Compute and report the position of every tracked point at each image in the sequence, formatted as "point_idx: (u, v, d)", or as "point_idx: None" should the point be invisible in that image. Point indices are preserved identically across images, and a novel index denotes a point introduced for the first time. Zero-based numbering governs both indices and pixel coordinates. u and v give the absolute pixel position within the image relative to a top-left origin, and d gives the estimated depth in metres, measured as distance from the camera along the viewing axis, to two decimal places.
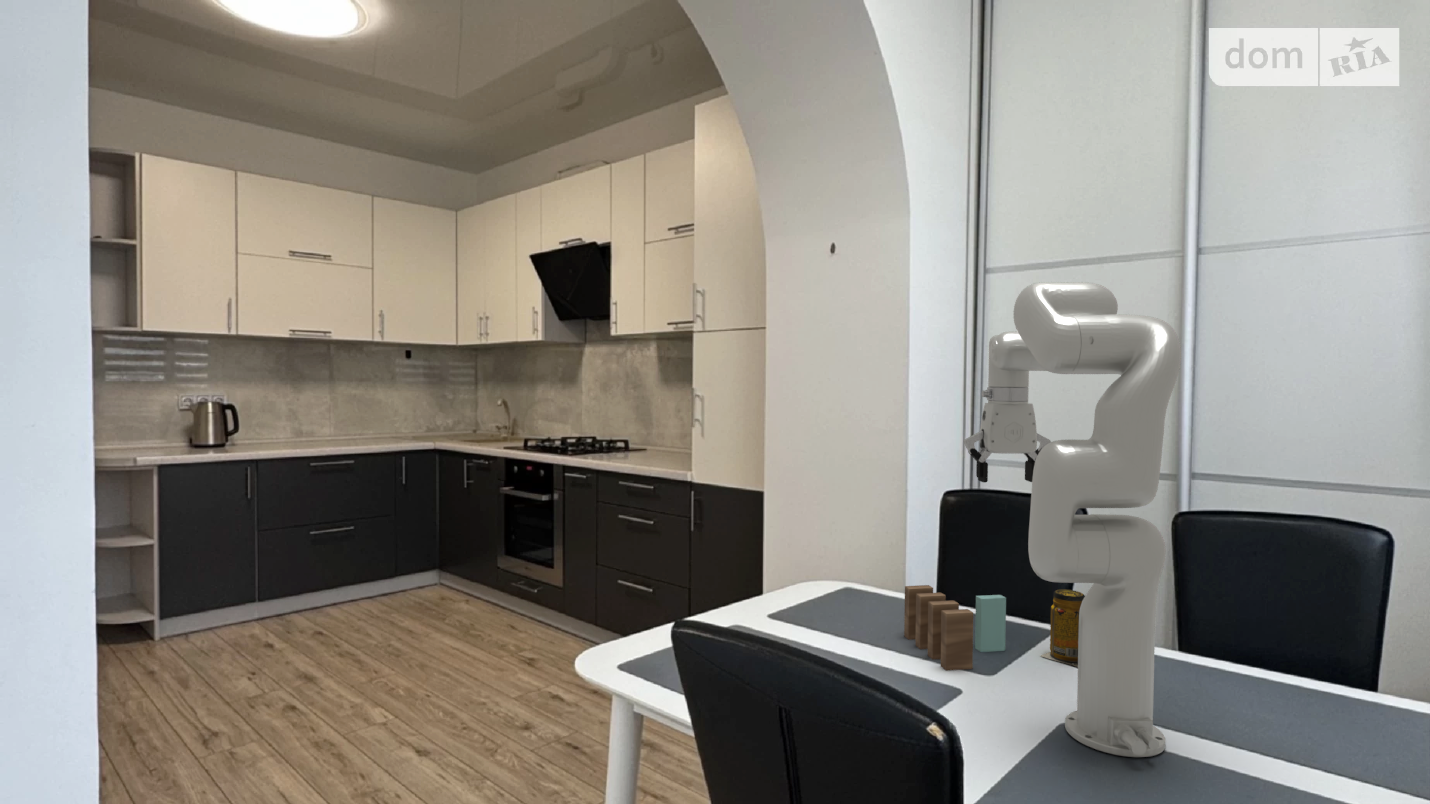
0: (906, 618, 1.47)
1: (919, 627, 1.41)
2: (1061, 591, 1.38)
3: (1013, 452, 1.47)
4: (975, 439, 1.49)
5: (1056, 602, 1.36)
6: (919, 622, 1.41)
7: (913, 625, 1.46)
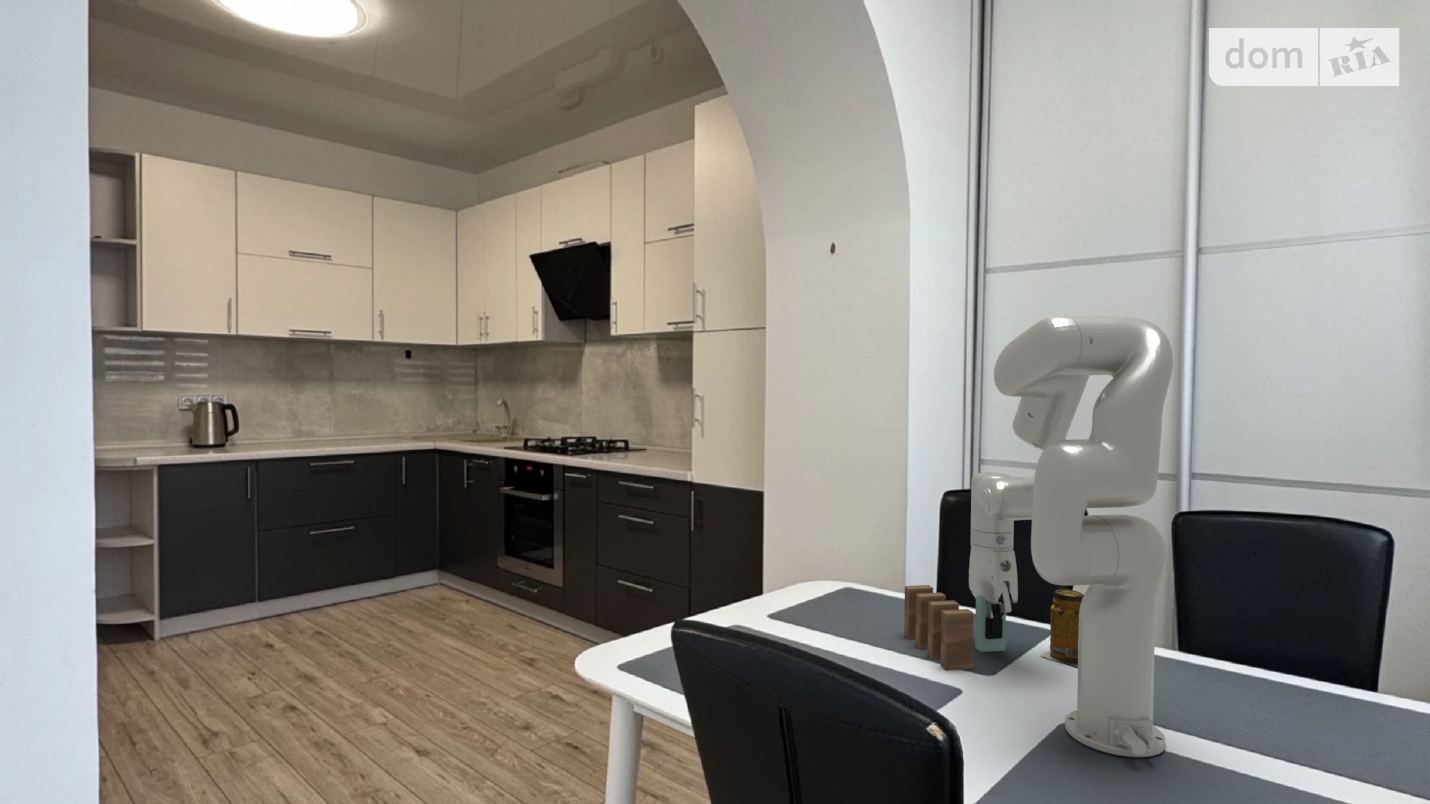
0: (906, 618, 1.47)
1: (919, 627, 1.41)
2: (1061, 591, 1.38)
3: None
4: None
5: (1056, 602, 1.36)
6: (919, 622, 1.41)
7: (913, 625, 1.46)
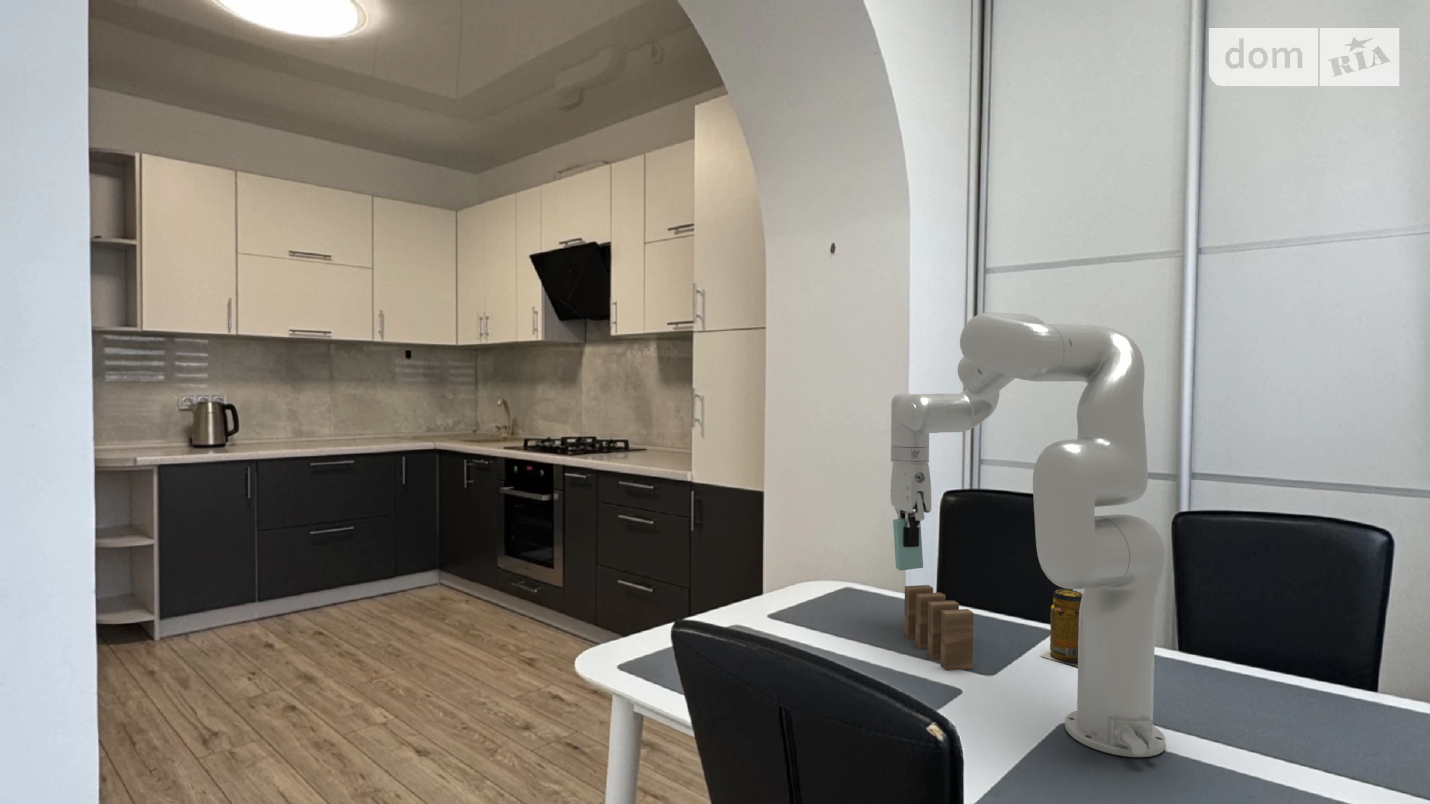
0: (906, 618, 1.47)
1: (919, 627, 1.41)
2: (1061, 591, 1.38)
3: None
4: None
5: (1056, 602, 1.36)
6: (919, 622, 1.41)
7: (913, 625, 1.46)
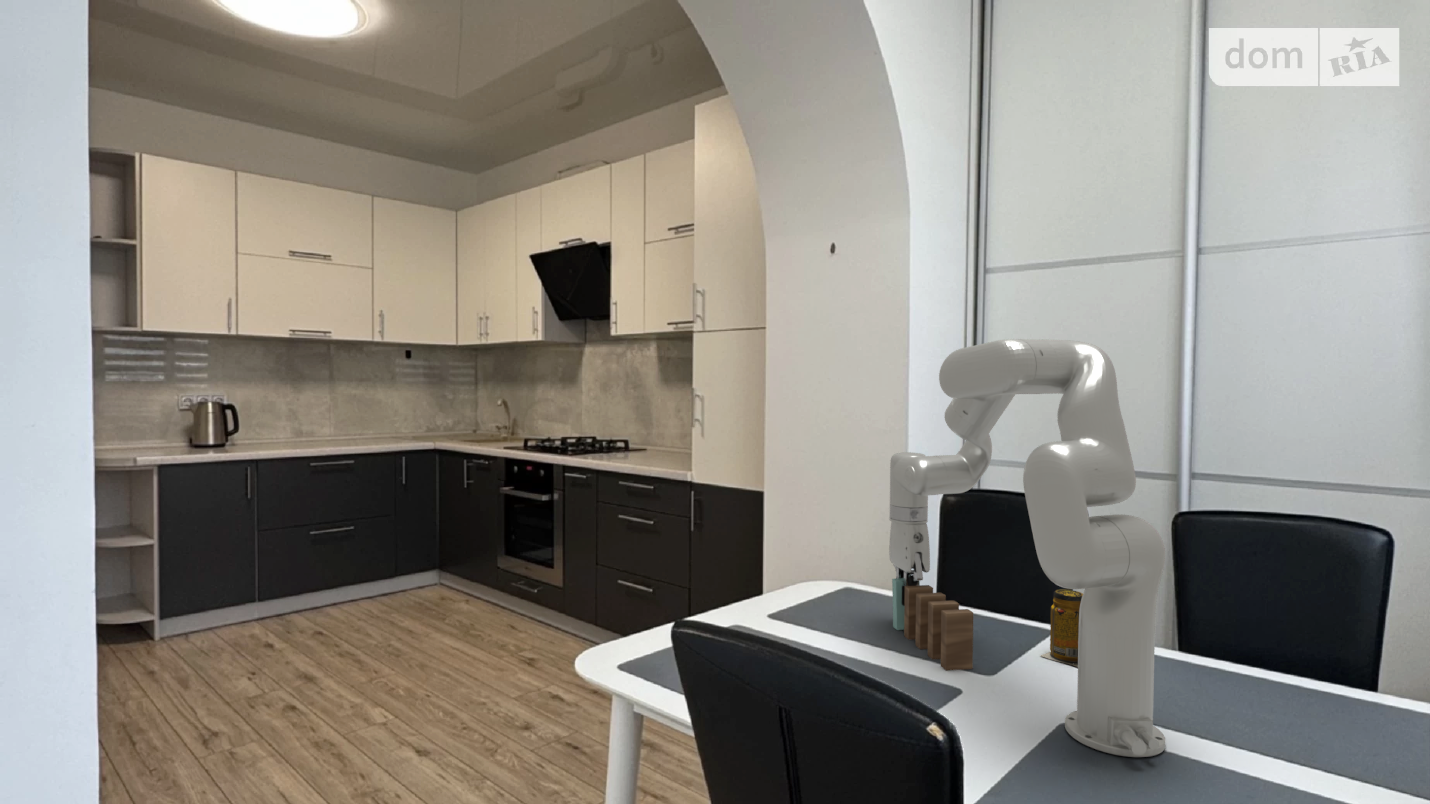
0: (906, 618, 1.47)
1: (919, 627, 1.41)
2: (1061, 591, 1.38)
3: None
4: None
5: (1056, 602, 1.36)
6: (919, 622, 1.41)
7: (913, 625, 1.46)
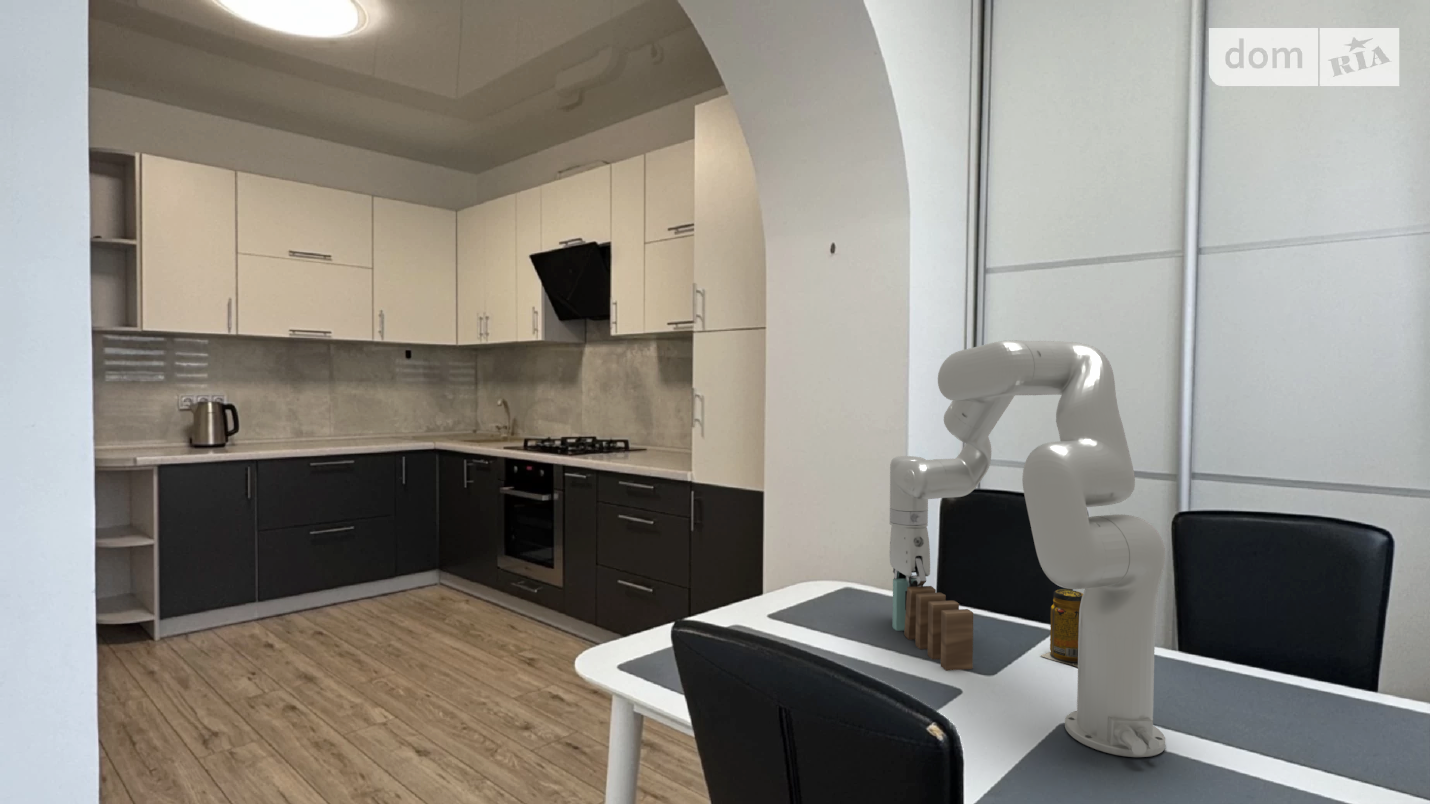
0: (907, 618, 1.46)
1: (919, 627, 1.41)
2: (1061, 591, 1.38)
3: None
4: None
5: (1056, 602, 1.36)
6: (919, 622, 1.41)
7: (914, 626, 1.45)
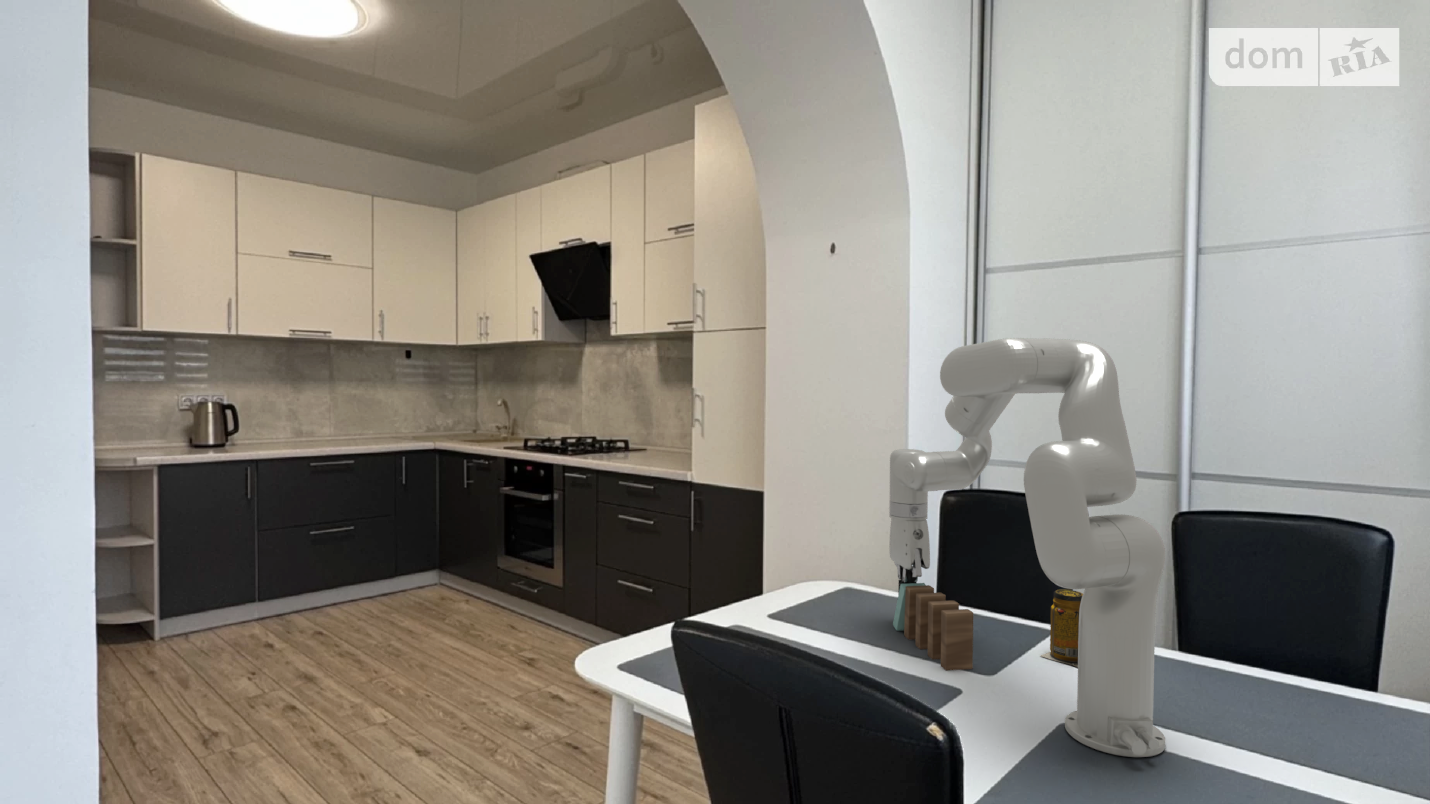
0: (906, 618, 1.46)
1: (919, 627, 1.41)
2: (1061, 591, 1.38)
3: None
4: None
5: (1056, 602, 1.36)
6: (919, 622, 1.41)
7: (914, 626, 1.46)
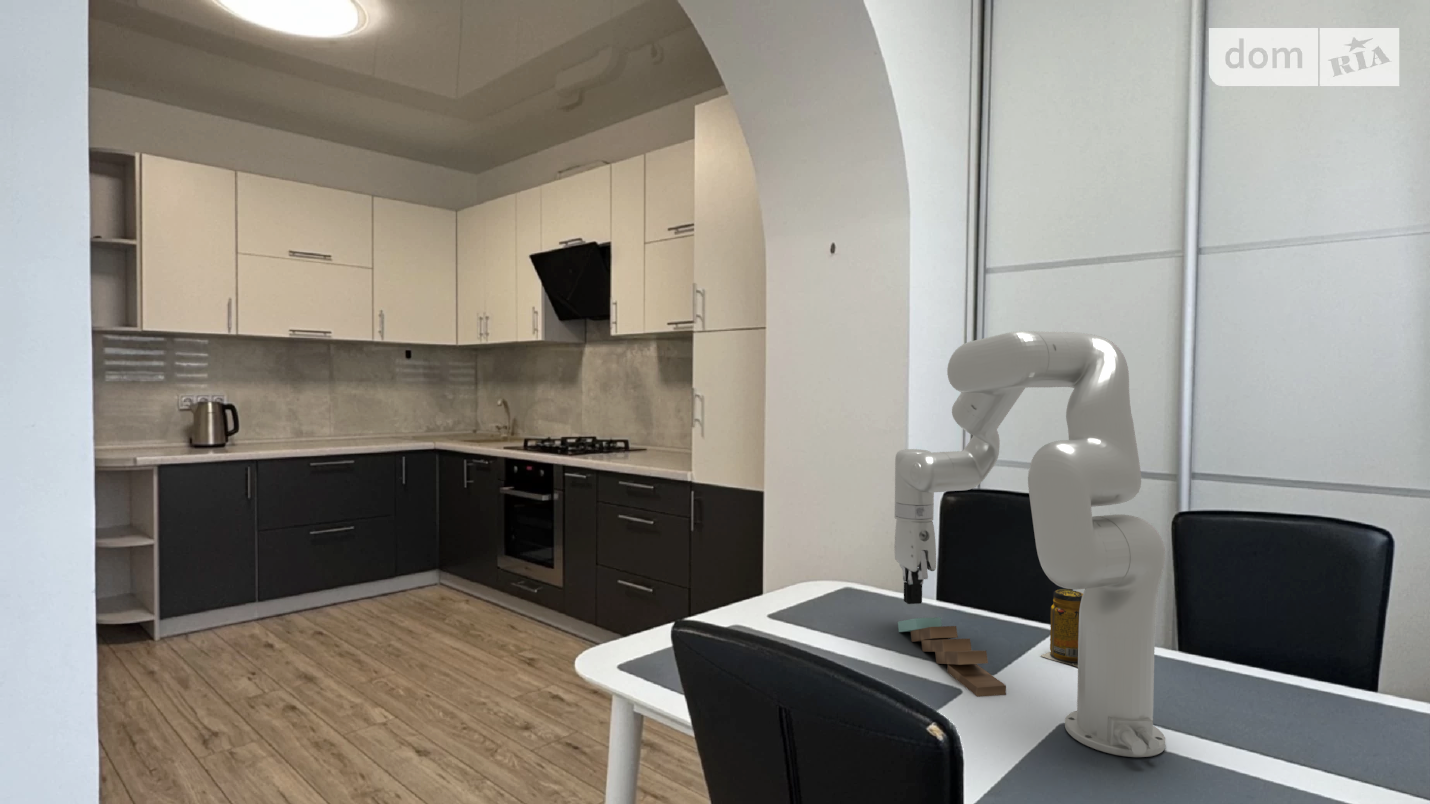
0: (918, 634, 1.41)
1: (930, 649, 1.36)
2: (1061, 591, 1.38)
3: None
4: None
5: (1056, 602, 1.36)
6: (932, 650, 1.35)
7: None
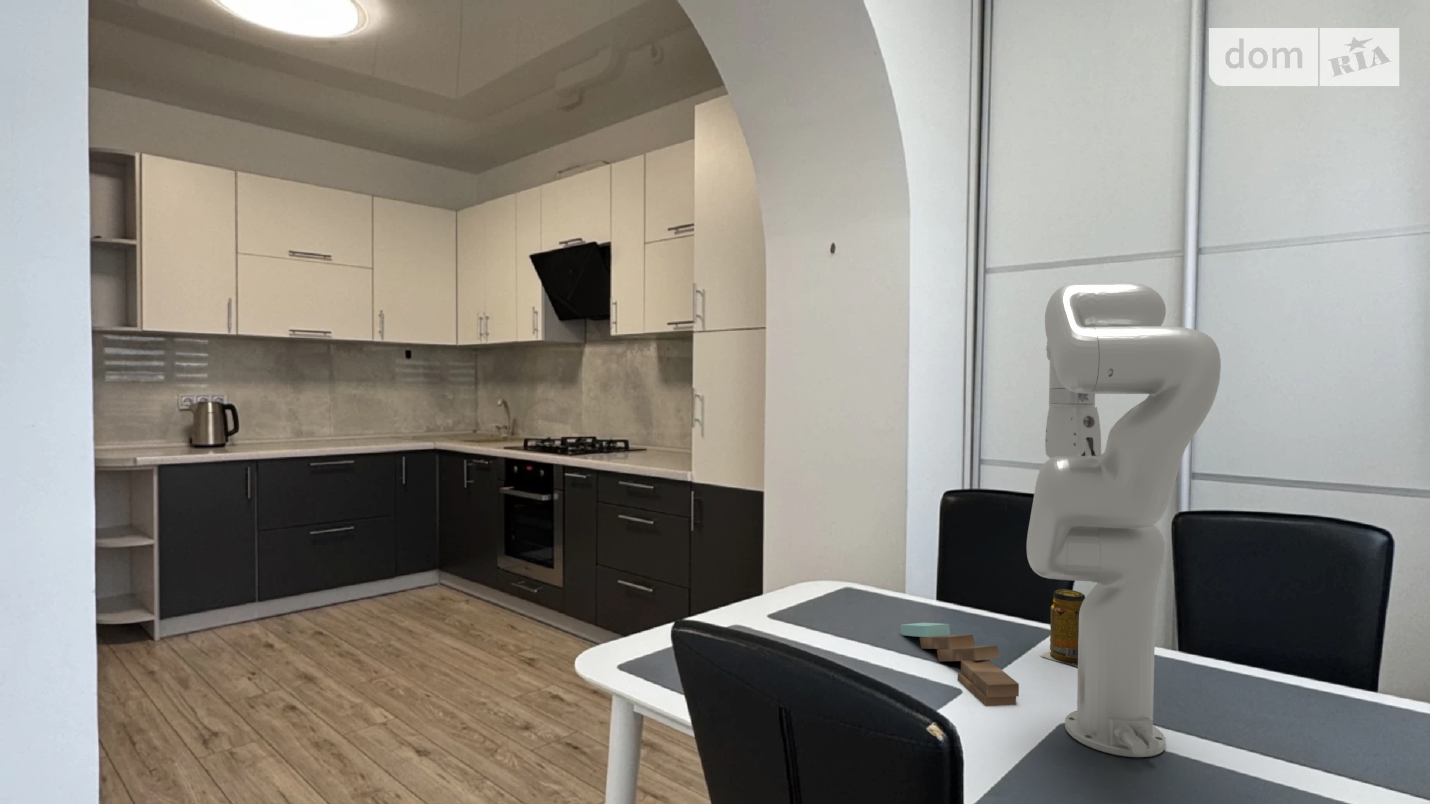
0: (931, 642, 1.38)
1: (953, 658, 1.31)
2: (1061, 591, 1.38)
3: None
4: None
5: (1056, 602, 1.36)
6: (956, 659, 1.30)
7: None
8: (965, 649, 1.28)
